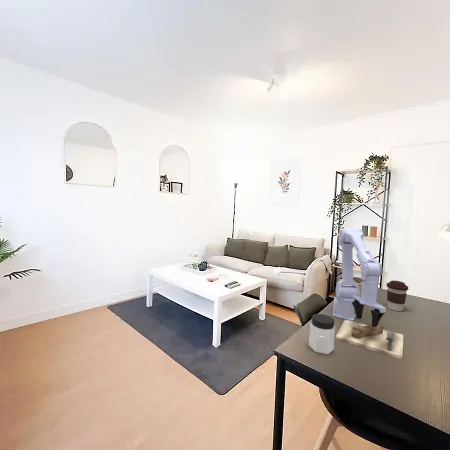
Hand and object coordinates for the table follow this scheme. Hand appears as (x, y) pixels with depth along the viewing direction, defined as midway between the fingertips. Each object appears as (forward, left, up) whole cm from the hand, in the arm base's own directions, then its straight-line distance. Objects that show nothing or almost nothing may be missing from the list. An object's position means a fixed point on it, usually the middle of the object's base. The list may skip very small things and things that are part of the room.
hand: (366, 322), depth 109 cm
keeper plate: (+2, +1, -7) cm, 7 cm away
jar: (-13, -20, -7) cm, 25 cm away
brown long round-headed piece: (0, +1, -5) cm, 5 cm away
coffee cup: (+9, +47, -7) cm, 48 cm away
